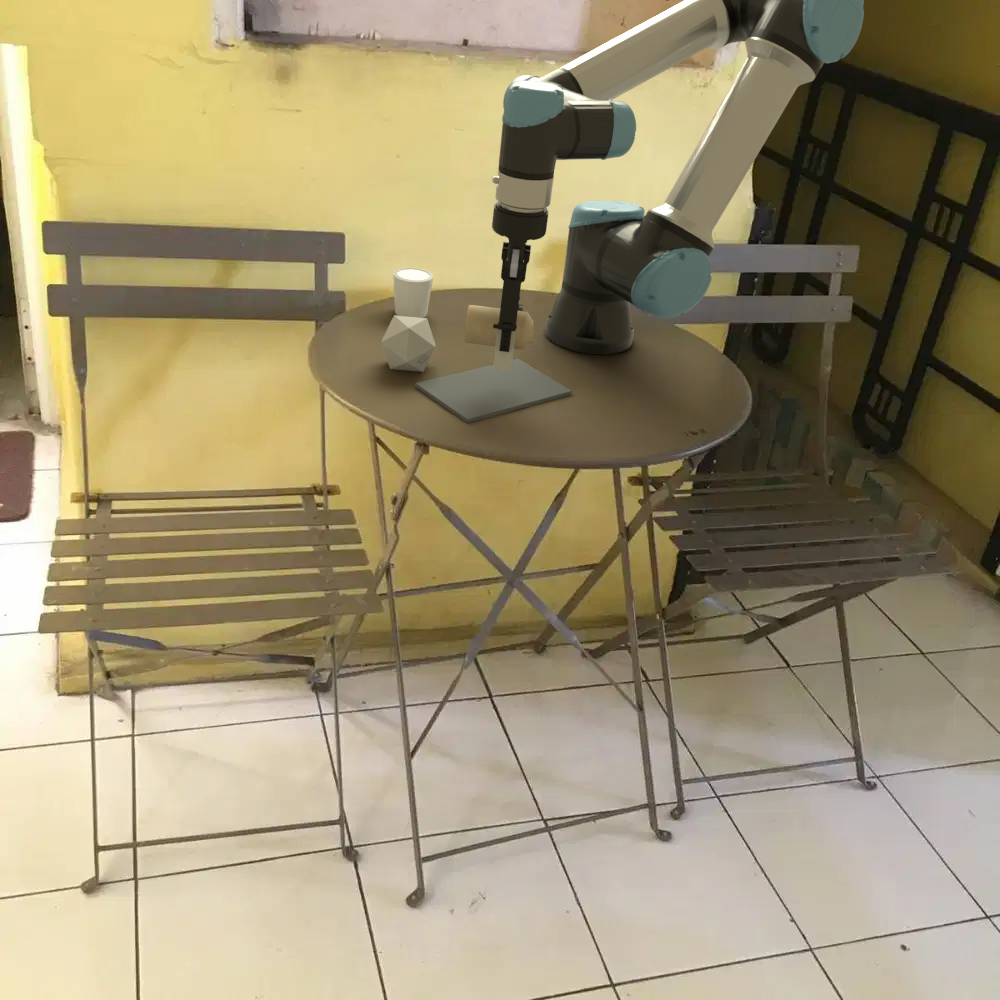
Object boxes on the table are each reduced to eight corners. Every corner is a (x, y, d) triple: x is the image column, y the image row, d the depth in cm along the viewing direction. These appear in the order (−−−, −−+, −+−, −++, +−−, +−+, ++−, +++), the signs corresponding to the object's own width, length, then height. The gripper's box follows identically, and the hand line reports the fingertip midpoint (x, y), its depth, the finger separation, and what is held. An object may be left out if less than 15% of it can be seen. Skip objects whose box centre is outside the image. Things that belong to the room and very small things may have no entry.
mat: (517, 362, 164) (518, 358, 164) (571, 394, 156) (571, 390, 155) (415, 386, 153) (415, 383, 152) (467, 423, 144) (467, 419, 144)
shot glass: (415, 323, 173) (417, 284, 170) (383, 312, 176) (385, 273, 172) (438, 313, 178) (441, 274, 175) (406, 302, 181) (409, 264, 177)
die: (412, 388, 154) (449, 336, 152) (365, 353, 152) (403, 301, 151) (414, 383, 162) (449, 334, 160) (369, 351, 160) (405, 301, 159)
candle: (469, 298, 149) (537, 307, 149) (466, 332, 152) (532, 341, 152) (466, 313, 144) (536, 322, 144) (463, 348, 148) (531, 357, 148)
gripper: (498, 184, 147) (482, 333, 159) (490, 220, 131) (472, 383, 143) (550, 190, 147) (530, 339, 159) (547, 227, 131) (525, 390, 143)
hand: (503, 360), depth 151 cm, fingers closed on candle, 5 cm apart
